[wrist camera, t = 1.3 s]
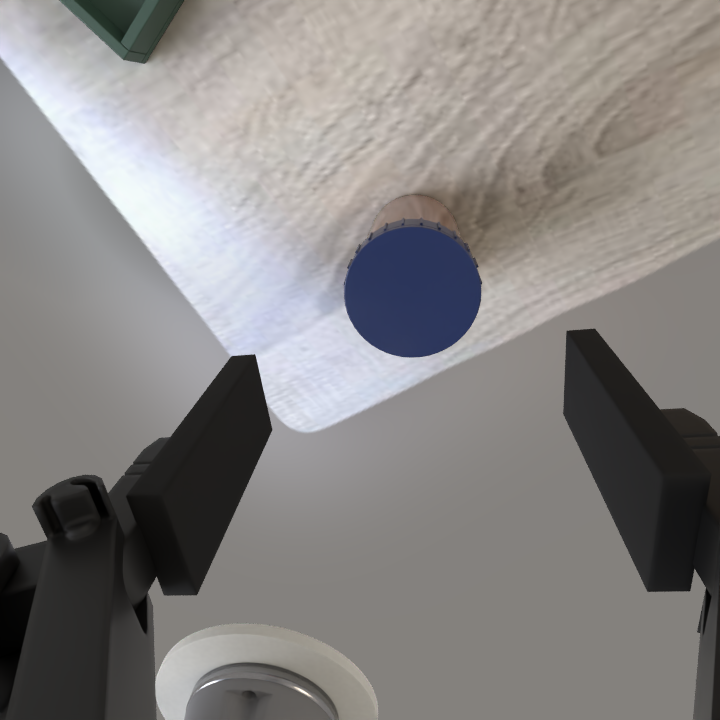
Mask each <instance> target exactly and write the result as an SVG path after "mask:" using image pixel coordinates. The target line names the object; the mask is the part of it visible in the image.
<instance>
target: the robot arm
mask: <svg viewBox="0 0 720 720" xmlns="http://www.w3.org/2000/svg"><path fill="white" fill-rule="evenodd" d="M564 387H565V388H564V412H563V414H564V416H565V419H566V421H567V423H568V425H569V427H570V429H571V431H572V433H573V435H574V437H575V440H576V442H577V443H578V446H579V448H580V450H581V452H582V454H583V456H584V458H585V461H586V463H587V465H588V467H589V469H590V471H591V473H592V475H593V478H594V480H595V482H596V484H597V486H598V488H599V490H600V492H601V494H602V496H603V499H604V501H605V503H606V505H607V507H608V509H609V511H610V513H611V515H612V518H613V520H614V522H615V524H616V526H617V528H618V530H619V532H620V535H621V536H622V539H623V541H624V543H625V545H626V547H627V549H628V551H629V554H630V556H631V558H632V560H633V562H634V564H635V566H636V568H637V570H638V572H639V575H640V577H641V579H642V581H643V583H644V585H645V587H646V589H647V591H648V592H658V591H690V589H691V584H692V578H693V573H694V568H695V570H696V571H697V573H698V575H699V576H700V578H701V580H702V581H703V583H704V585H705V586H706V591H705V596H704V601H703V606H702V611H701V616H700V621H699V626H698V631H697V632H698V633H700V645H699V656H698V667H697V679H696V691H695V703H694V714H693V720H720V436H718V435H717V432H716V431H715V430H714V429H713V428H712V427H711V426H710V425H709V424H708V423H707V422H706V421H705V420H704V419H702V418H701V417H699V416H697V415H695V414H694V413H692V412H690V411H688V410H686V409H684V408H682V409H661V410H660V409H659V408H658V407H657V406H656V404H655V403H654V402H653V400H652V399H651V398H650V397H649V395H648V394H647V393H646V392H645V391H644V389H643V388H642V387H641V386H640V384H639V383H638V382H637V381H636V379H635V378H634V377H633V376H632V374H631V373H630V372H629V371H628V369H627V368H626V367H625V366H624V364H623V363H622V362H621V361H620V359H619V358H618V357H617V356H616V354H615V353H614V352H613V351H612V349H611V348H610V347H609V346H608V345H607V343H606V342H605V341H604V340H603V338H602V337H601V336H600V334H599V333H598V332H597V331H596V329H584V330H572V331H567V335H566V360H565V386H564ZM271 432H272V426H271V422H270V417H269V413H268V408H267V404H266V400H265V395H264V391H263V387H262V382H261V378H260V373H259V369H258V365H257V360H256V356H255V354H254V355H241V356H231V358H230V359H229V360H228V362H227V363H226V364H225V366H224V367H223V368H222V370H221V371H220V372H219V374H218V375H217V376H216V378H215V379H214V380H213V381H212V383H211V384H210V385H209V387H208V388H207V390H206V391H205V392H204V393H203V395H202V396H201V397H200V399H199V400H198V401H197V403H196V404H195V405H194V407H193V408H192V409H191V411H190V412H189V413H188V414H187V416H186V417H185V418H184V420H183V421H182V422H181V424H180V425H179V426H178V428H177V429H176V430H175V432H174V433H173V434H172V436H171V437H168V438H159V439H158V440H157V441H155V442H154V443H152V444H151V445H149V446H148V447H147V448H145V449H144V450H143V451H142V452H141V454H140V455H139V456H138V457H137V459H136V460H135V461H134V462H133V465H131V466H130V467H129V468H128V470H127V471H126V472H125V476H122V477H121V478H120V479H119V481H118V482H117V483H116V484H115V486H114V487H113V488H112V490H111V491H110V492H109V493H107V490H106V488H105V485H104V483H103V480H102V478H100V477H98V476H95V475H82V476H77V477H72V478H69V479H67V480H64V481H62V482H59V483H57V484H56V485H54V486H52V487H50V488H49V489H47V490H46V491H45V492H44V493H42V494H41V495H40V496H39V497H38V498H37V499H36V501H35V502H34V504H33V506H32V508H33V510H34V512H35V514H36V516H37V518H38V520H39V522H40V524H41V526H42V528H43V531H44V533H45V535H46V537H47V541H44V542H40V543H36V544H32V545H28V546H24V547H20V548H16V549H14V548H13V546H12V544H11V542H10V540H9V538H8V536H7V535H5V534H2V533H0V720H156V690H155V658H154V626H153V605H152V602H151V599H150V597H149V594H148V590H149V589H150V587H151V585H152V583H153V582H154V580H155V578H156V576H157V578H158V581H159V583H160V586H161V588H162V591H163V594H164V595H197V594H198V592H199V589H200V587H201V585H202V583H203V581H204V579H205V576H206V574H207V572H208V570H209V568H210V565H211V563H212V561H213V559H214V557H215V554H216V552H217V550H218V548H219V546H220V543H221V541H222V539H223V537H224V534H225V532H226V530H227V528H228V526H229V524H230V522H231V519H232V517H233V515H234V513H235V511H236V508H237V506H238V504H239V502H240V499H241V497H242V495H243V493H244V491H245V489H246V487H247V484H248V482H249V480H250V478H251V475H252V473H253V471H254V469H255V466H256V465H257V462H258V460H259V458H260V456H261V454H262V451H263V449H264V447H265V445H266V443H267V441H268V438H269V436H270V434H271ZM184 720H339V716H338V712H337V709H336V707H335V705H334V703H333V701H332V700H331V699H330V697H329V696H328V695H327V694H326V693H325V692H324V691H323V690H322V689H321V688H320V687H319V686H317V685H316V684H315V683H313V682H312V681H310V680H309V679H307V678H305V677H304V676H302V675H300V674H297V673H295V672H293V671H290V670H288V669H284V668H281V667H278V666H273V665H268V664H262V663H234V664H228V665H224V666H220V667H218V668H215V669H213V670H211V671H209V672H208V673H206V674H205V675H203V676H202V677H201V678H200V679H199V680H198V681H197V683H196V684H195V686H194V688H193V691H192V693H191V696H190V698H189V701H188V704H187V707H186V713H185V719H184Z"/></svg>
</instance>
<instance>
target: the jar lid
mask: <svg viewBox="0 0 720 720" xmlns="http://www.w3.org/2000/svg"><path fill="white" fill-rule="evenodd" d="M355 253H356V254H355V256H354V258H353V259H351V261H350V263H349V265H348V267H347V268H348V269H349V270H348V272H347V276H346V279H345V282H344V285H345V286H344V299H345V306H346V309H347V313H348V315H349V318H350V320H351V322H352V324H353V325H354V327H355V329H356V330H357V331H358V332H359V334H360V335H361V336H362V337H363V338H364V339H365V340H366V341H368V342H369V343H370V344H371V345H373V346H374V347H376V348H378V349H379V350H382V351H384V352H386V353H389V354H392V355H396V356H401V357H423V356H429V355H432V354H435V353H438V352H440V351H443V350H445V349H447V348H448V347H450V346H452V345H453V344H454V343H456V342H457V341H458V340H459V339H460V338H461V337H462V336H463V335H464V334H465V333H466V332H467V331H468V329H469V328H470V327H471V325H472V323H473V322H474V320H475V318H476V315H477V313H478V310H479V306H480V302H481V284H482V281H481V279H480V276H479V273H478V270H477V267H478V264H477V262H476V259H475V258H473V257H472V254H471V252H470V249H469V247H468V244H467V243H464V242H463V241H462V240H461V238H460V237H459V236H457V235H456V231H454V230H453V231H451V230H450V229H448V228H447V227H445V226H443V225H441V224H440V222H438V223H435V222H432V221H429V220H423V218H422V217H420V219H405V218H402V220H399V221H395V222H392V223H389V224H388V223H385V225H384V226H383V227H381V228H379V229H378V230H376V231H375V232H373V233H372V232H370V234H369V237H368V238H367V239H366V240H365V241H364V242H363V243H362V244H361V245H360V244H359V245H358V247H357V250H356V252H355Z"/></svg>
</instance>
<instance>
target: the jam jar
mask: <svg viewBox="0 0 720 720" xmlns="http://www.w3.org/2000/svg"><path fill="white" fill-rule="evenodd" d="M420 217H422V218H423V220H429V221H432V222H435V223H438V222H440V224H441V225H443V226H445V227H447V228H448V229H450V230H451V231H453V230H454V231H456V235H457V236H459V237H460V238H461V236H460V233H459V230H458V227H457V224H456V221H455V219H454V217H453V215H452V214H451V212H450V211H449V210H448V209H447V208H446V207H445V206H444V205H443V204H442V203H440V202H439V201H437V200H435V199H433V198H431V197H428V196H424V195H406V196H402V197H399V198H397V199H395V200H393V201H391V202H390V203H388V204H387V205H386V206H385V207H384V208H383V209H382V210H381V211H380V212H379V213H378V215H377V216H376V218H375V220H374V222H373V224H372V227H371V229H370V232H372V233H373V232H375V231H376V230H378V229H379V228H381V227H383V226H384V225H385V223H388V224H389V223H392V222H395V221H399V220H402V218H405V219H420ZM370 232H369V234H370ZM369 234H368V237H369ZM368 237H367V238H368ZM461 240H462V239H461Z"/></svg>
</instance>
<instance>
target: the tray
mask: <svg viewBox="0 0 720 720" xmlns="http://www.w3.org/2000/svg"><path fill="white" fill-rule="evenodd" d="M59 1H61V2H62V3H63V4H64V5H65V6H66V7H67V8H68V9H69V10H70V11H71V12H72V13H73V14H75V15H76V16H77V17H78V18H79V19H80V20H81V21H82V22H83V23H84V24H85V25H86V26H87V27H89V28H90V29H91V30H92V31H93V32H94V33H95V34H96V35H97V36H98V37H99V38H100V39H101V40H102V41H104V42H105V43H106V44H107V45H108V46H109V47H110V48H111V49H112V50H113V51H114V52H115V53H116V54H118V55H119V56H120V57H121V58H122V59H123V60H127V61H133V62H139V63H144V64H145V63H146V61H147V59H148V58H149V56H150V55H151V53H152V51H153V50H154V48H155V46H156V45H157V43H158V42H159V40H160V38H161V37H162V35H163V34H164V32H165V30H166V29H167V27H168V26H169V24H170V22H171V21H172V19H173V17H174V16H175V14H176V13H177V11H178V9H179V8H180V6H181V5H182V3H183V1H184V0H59Z"/></svg>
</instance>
